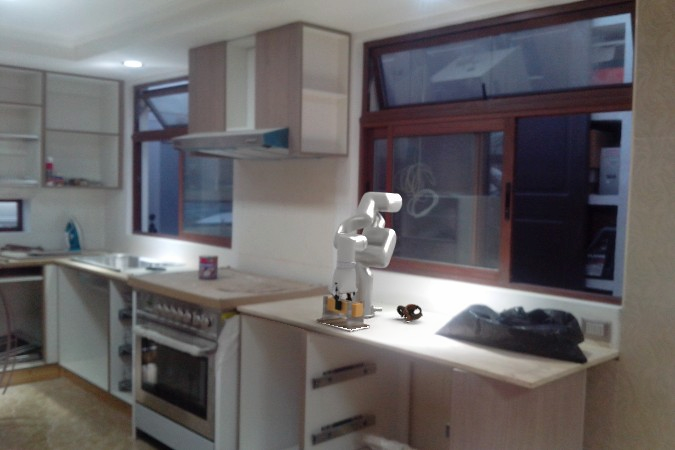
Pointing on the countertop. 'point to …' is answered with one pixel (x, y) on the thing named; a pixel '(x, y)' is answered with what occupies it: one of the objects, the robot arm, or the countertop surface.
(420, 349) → the countertop surface
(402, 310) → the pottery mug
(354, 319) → the cradle
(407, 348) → the countertop surface
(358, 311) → the orange rectangular bar
